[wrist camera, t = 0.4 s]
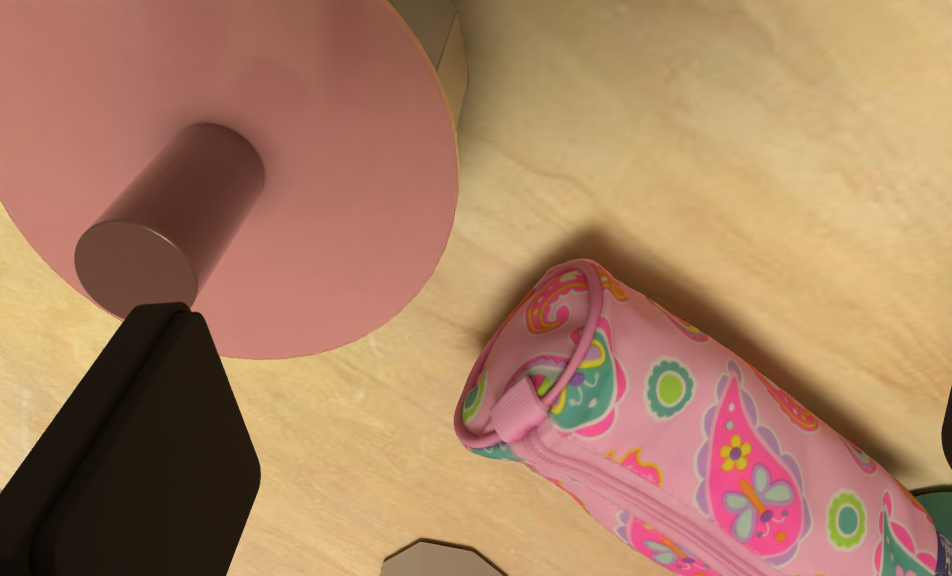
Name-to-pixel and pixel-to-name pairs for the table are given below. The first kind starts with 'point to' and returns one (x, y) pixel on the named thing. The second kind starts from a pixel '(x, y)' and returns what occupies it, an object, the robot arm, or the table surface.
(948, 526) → the cup
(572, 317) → the pencil case
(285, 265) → the pink knobbed disc
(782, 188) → the table surface
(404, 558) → the flask
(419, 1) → the bowl
